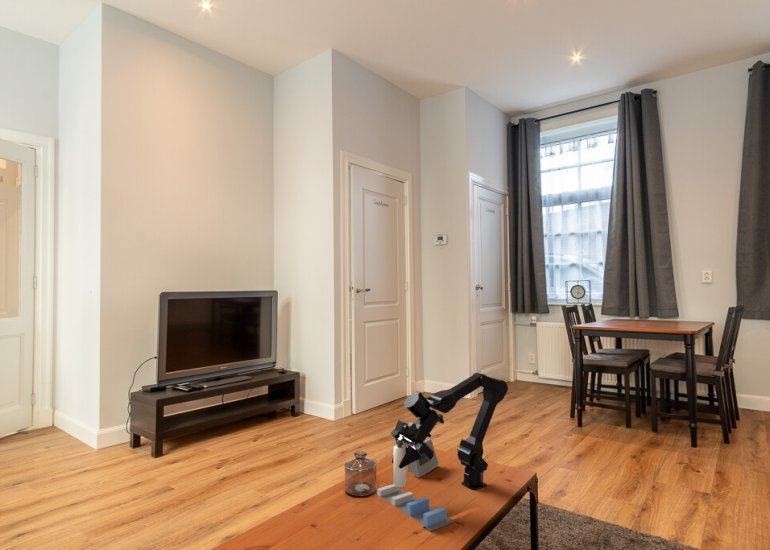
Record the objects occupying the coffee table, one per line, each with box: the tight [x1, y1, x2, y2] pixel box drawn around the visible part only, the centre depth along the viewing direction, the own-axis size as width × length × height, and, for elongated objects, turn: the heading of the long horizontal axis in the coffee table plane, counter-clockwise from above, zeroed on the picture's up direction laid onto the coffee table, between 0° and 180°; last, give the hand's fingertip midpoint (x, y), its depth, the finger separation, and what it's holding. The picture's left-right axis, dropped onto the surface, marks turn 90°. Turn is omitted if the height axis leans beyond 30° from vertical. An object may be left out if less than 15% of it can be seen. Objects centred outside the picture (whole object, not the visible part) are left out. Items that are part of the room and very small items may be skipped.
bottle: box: [393, 440, 407, 488], centre depth 152 cm, size 4×4×14 cm
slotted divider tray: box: [375, 483, 454, 533], centre depth 150 cm, size 9×28×4 cm, turn 35°
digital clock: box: [407, 437, 439, 479], centre depth 180 cm, size 16×9×11 cm, turn 133°
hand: (396, 465), depth 152 cm, fingers closed on bottle, 4 cm apart
